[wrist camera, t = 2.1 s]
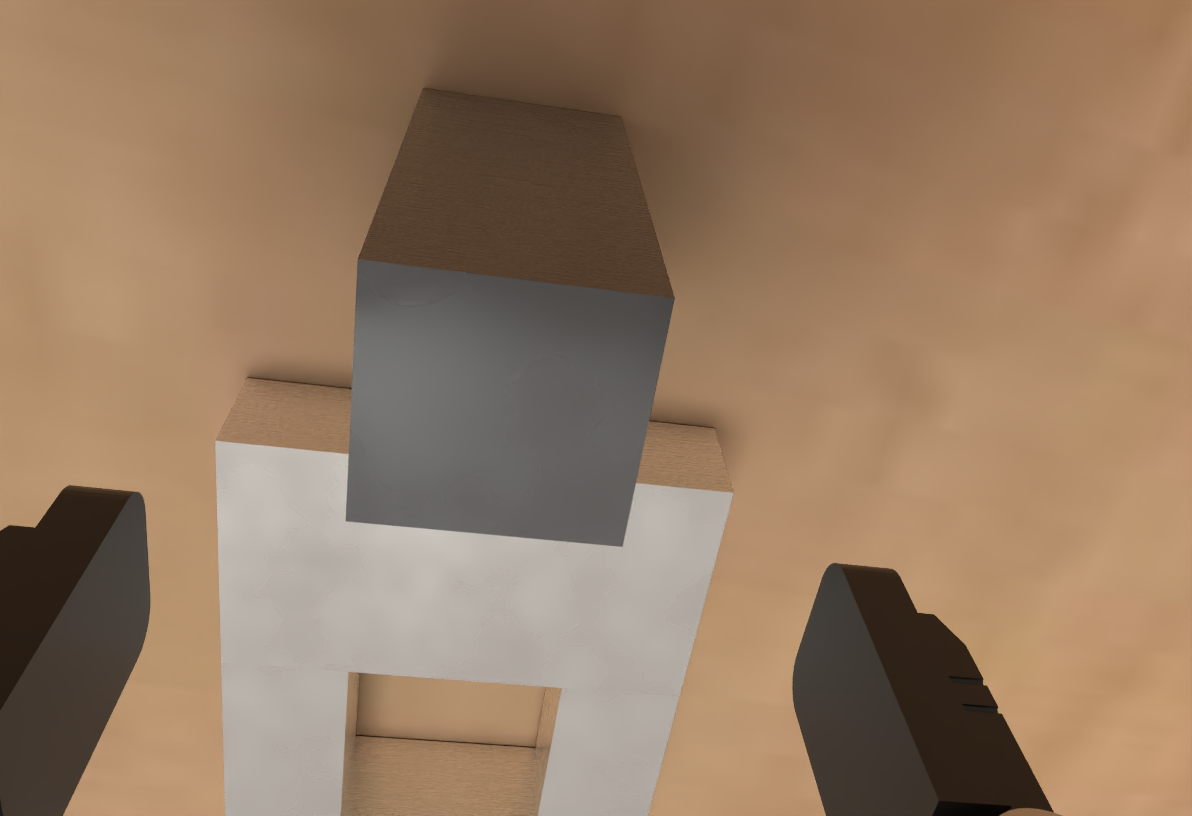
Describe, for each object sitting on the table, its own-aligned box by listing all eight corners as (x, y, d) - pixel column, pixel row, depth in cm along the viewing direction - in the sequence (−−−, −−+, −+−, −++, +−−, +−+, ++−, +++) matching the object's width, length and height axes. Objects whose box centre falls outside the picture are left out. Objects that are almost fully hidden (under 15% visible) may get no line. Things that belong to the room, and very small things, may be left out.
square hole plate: (247, 377, 26) (215, 440, 23) (714, 428, 28) (733, 492, 25) (250, 788, 33) (227, 871, 31) (619, 811, 35) (627, 892, 32)
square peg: (423, 88, 23) (358, 259, 14) (621, 116, 23) (674, 298, 15) (409, 274, 25) (345, 521, 16) (591, 296, 26) (622, 546, 17)
